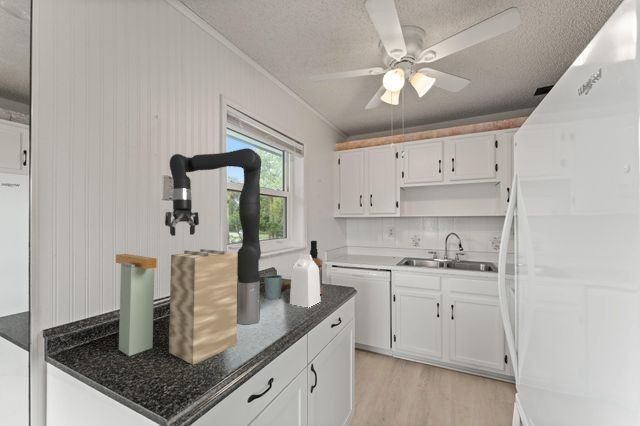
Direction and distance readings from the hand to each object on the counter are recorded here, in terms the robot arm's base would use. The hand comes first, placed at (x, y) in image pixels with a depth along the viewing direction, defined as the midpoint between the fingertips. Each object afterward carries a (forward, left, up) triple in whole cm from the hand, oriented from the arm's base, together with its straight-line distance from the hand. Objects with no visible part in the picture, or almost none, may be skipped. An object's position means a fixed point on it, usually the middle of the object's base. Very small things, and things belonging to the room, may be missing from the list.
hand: (182, 235), depth 122 cm
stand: (-19, +31, -37) cm, 52 cm away
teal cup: (-38, -31, -37) cm, 62 cm away
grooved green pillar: (+4, +29, -37) cm, 47 cm away
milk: (-56, -17, -37) cm, 70 cm away
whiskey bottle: (-62, -36, -37) cm, 81 cm away
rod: (+5, +27, -9) cm, 29 cm away
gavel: (-44, -46, -38) cm, 74 cm away
